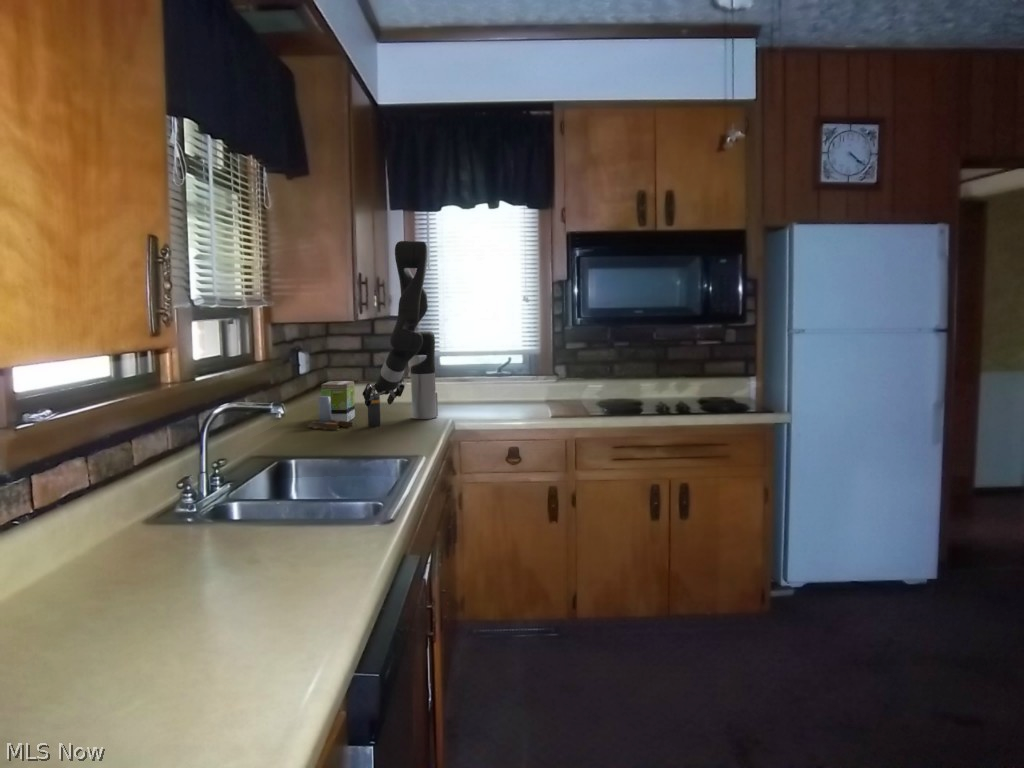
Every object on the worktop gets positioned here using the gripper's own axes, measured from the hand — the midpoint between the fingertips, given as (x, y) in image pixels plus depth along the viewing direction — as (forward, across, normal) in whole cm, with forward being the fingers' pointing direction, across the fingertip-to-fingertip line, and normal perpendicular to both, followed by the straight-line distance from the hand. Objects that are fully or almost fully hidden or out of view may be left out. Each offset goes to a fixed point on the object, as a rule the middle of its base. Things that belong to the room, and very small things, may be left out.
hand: (377, 403), depth 290 cm
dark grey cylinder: (+8, 0, +4) cm, 9 cm away
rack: (+13, +13, -1) cm, 19 cm away
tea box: (+24, +4, -12) cm, 28 cm away
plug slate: (+15, +15, -3) cm, 21 cm away
